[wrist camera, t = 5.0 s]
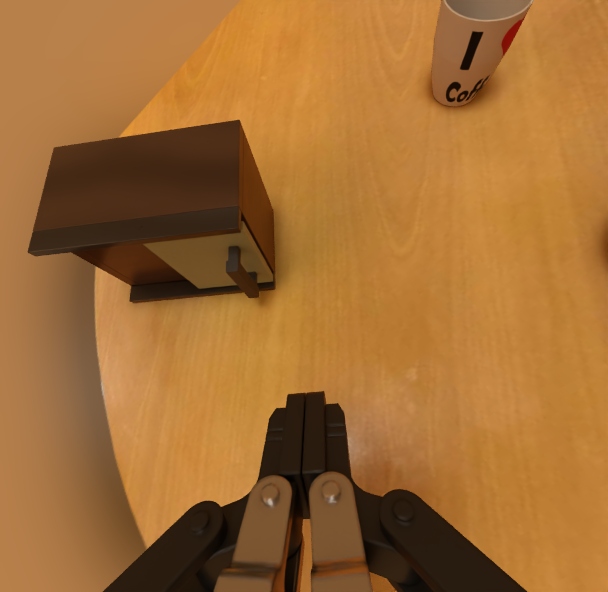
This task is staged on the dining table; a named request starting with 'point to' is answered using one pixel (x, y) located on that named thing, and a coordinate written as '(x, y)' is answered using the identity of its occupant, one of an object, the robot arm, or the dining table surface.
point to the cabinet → (153, 204)
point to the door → (217, 261)
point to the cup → (471, 45)
